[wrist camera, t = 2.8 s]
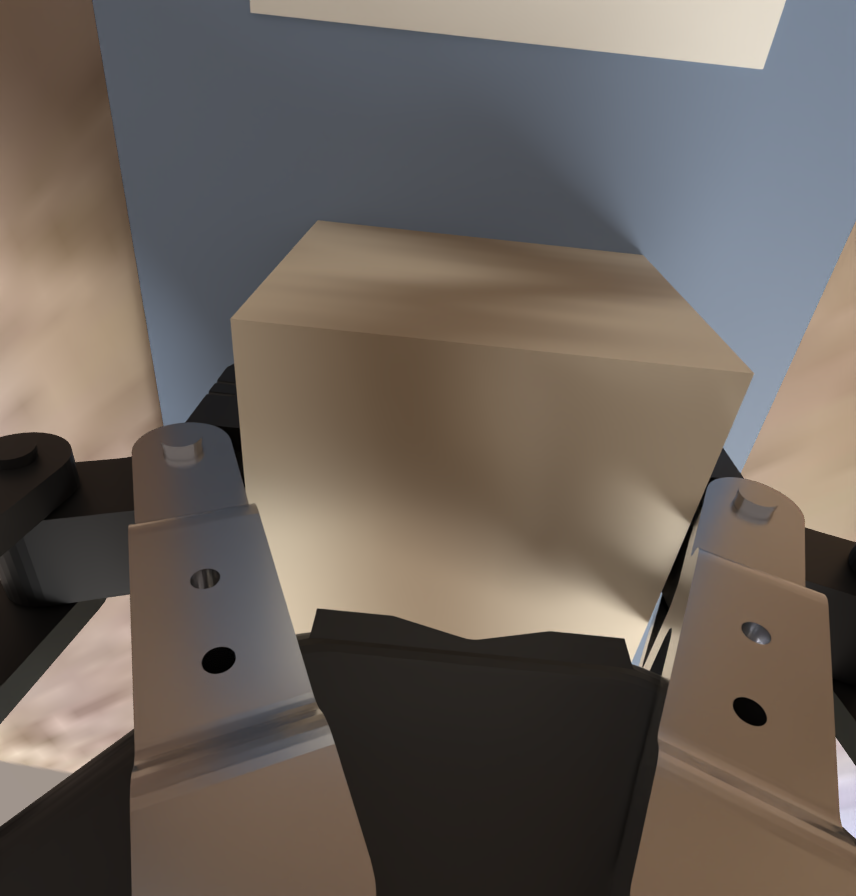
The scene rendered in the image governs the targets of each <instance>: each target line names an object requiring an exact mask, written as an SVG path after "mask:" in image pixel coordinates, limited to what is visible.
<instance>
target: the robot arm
mask: <svg viewBox="0 0 856 896" xmlns="http://www.w3.org/2000/svg"><path fill="white" fill-rule="evenodd" d="M128 594H130V611H131V643H132V676H133V709H134V729H133V730H132V731H130V732H129V733H127V734H126V735H125V736H123V737H122V738H121V739H119V740H118V741H117V742H115V743H114V744H112V745H111V746H110V747H108V748H107V749H106V750H104V751H103V752H101V753H100V754H99V755H97V756H96V757H95V758H93V759H92V760H91V761H89V762H88V763H86V764H85V765H84V766H82V767H81V768H80V769H78V770H77V771H75V772H74V773H73V774H71V775H70V776H69V777H67V778H66V779H65V780H63V781H62V782H60V783H59V784H58V785H57V786H55V787H54V788H52V789H51V790H50V791H48V792H47V793H45V794H44V795H43V796H42V797H40V798H39V799H37V800H36V801H35V802H33V803H32V804H30V805H29V806H28V807H26V808H25V809H24V810H22V811H21V812H19V813H18V814H17V815H15V816H14V817H13V818H11V819H10V820H9V821H7V822H6V823H4V824H3V825H2V826H0V896H856V839H855V838H854V837H853V836H852V835H851V834H850V833H849V832H848V831H846V830H845V829H844V828H843V827H842V824H841V820H840V812H839V794H838V776H837V757H836V739H835V737H836V738H837V740H838V741H839V742H840V744H841V745H842V747H843V748H844V750H845V751H846V752H847V754H848V755H849V757H850V758H851V760H852V761H853V763H854V764H855V765H856V542H853V541H849V540H846V539H842V538H839V537H835V536H832V535H828V534H825V533H821V532H818V531H815V530H811V529H808V528H805V519H804V515H803V513H802V511H801V510H800V509H799V507H798V506H797V505H796V504H795V503H794V502H793V501H792V500H790V499H789V498H788V497H787V496H785V495H784V494H782V493H781V492H779V491H777V490H775V489H773V488H771V487H769V486H767V485H764V484H761V483H759V482H756V481H752V480H748V479H744V478H743V476H742V475H741V473H740V472H739V470H738V469H737V467H736V466H735V464H734V463H733V462H732V460H731V459H730V457H729V456H728V454H727V453H726V451H725V450H724V448H722V451H721V453H720V455H719V458H718V460H717V462H716V465H715V467H714V469H713V472H712V474H711V477H710V479H709V481H708V484H707V486H706V488H705V491H704V493H703V495H702V498H701V500H700V502H699V505H698V507H697V509H696V512H695V514H694V517H693V519H692V521H691V524H690V526H689V528H688V531H687V533H686V535H685V538H684V540H683V542H682V545H681V547H680V549H679V552H678V554H677V557H676V559H675V561H674V564H673V566H672V568H671V571H670V573H669V575H668V578H667V580H666V582H665V585H664V587H663V589H662V595H661V597H660V599H659V602H658V604H657V606H656V609H655V611H654V615H653V618H652V622H651V625H650V629H649V632H648V636H647V639H646V643H645V646H644V650H643V653H642V657H641V660H640V664H639V666H636V665H633V664H632V663H631V659H630V656H629V652H628V649H627V645H626V642H625V638H615V637H605V636H595V635H585V634H574V633H564V632H554V631H546V632H537V633H529V634H521V635H512V636H504V637H496V638H487V639H477V640H473V639H466V638H462V637H459V636H456V635H453V634H450V633H446V632H443V631H440V630H437V629H434V628H431V627H427V626H424V625H421V624H418V623H415V622H411V621H408V620H405V619H402V618H399V617H395V616H391V615H381V614H370V613H360V612H350V611H340V610H330V609H319V608H317V610H316V614H315V618H314V622H313V626H312V630H311V632H308V633H301V634H295V631H294V628H293V624H292V621H291V618H290V614H289V611H288V608H287V604H286V601H285V598H284V594H283V591H282V588H281V584H280V581H279V578H278V574H277V571H276V568H275V564H274V561H273V557H272V554H271V551H270V547H269V544H268V541H267V537H266V534H265V531H264V527H263V524H262V521H261V517H260V514H259V511H258V508H257V505H256V504H255V503H252V504H249V502H248V499H247V495H246V491H245V479H244V468H243V457H242V445H241V434H240V423H239V411H238V400H237V389H236V378H235V366H234V364H232V365H230V366H228V367H227V368H226V369H225V370H224V372H223V373H222V374H221V376H220V377H219V378H218V380H217V383H215V384H214V385H213V386H212V388H211V389H210V390H209V394H206V395H205V397H204V398H203V399H202V401H201V402H200V403H199V405H198V406H197V407H196V409H195V410H194V411H193V413H192V414H191V415H190V417H189V418H188V419H187V421H186V422H185V423H176V424H170V425H166V426H162V427H159V428H156V429H154V430H152V431H150V432H148V433H146V434H145V435H143V436H142V437H141V438H139V439H138V440H137V441H136V443H135V444H134V446H133V448H132V457H127V458H119V459H109V460H97V461H85V462H75V460H74V456H73V452H72V449H71V446H70V444H69V443H68V441H66V440H65V439H64V438H62V437H59V436H57V435H53V434H48V433H37V432H31V433H19V434H12V435H7V436H3V437H0V724H1V723H2V721H3V720H4V719H5V718H6V717H7V716H8V714H9V713H10V712H11V711H12V710H13V709H14V707H15V706H16V705H17V704H18V703H19V702H20V700H21V699H22V698H23V697H24V696H25V695H26V693H27V692H28V691H29V690H30V689H31V688H32V686H33V685H34V684H35V683H36V682H37V681H38V679H39V678H40V677H41V676H42V675H43V674H44V673H45V671H46V670H47V669H48V668H49V667H50V666H51V664H52V663H53V662H54V661H55V660H56V659H57V657H58V656H59V655H60V654H61V653H62V652H63V650H64V649H65V648H66V647H67V646H68V645H69V643H70V642H71V641H72V640H73V639H74V638H75V636H76V635H77V634H78V633H79V632H80V631H81V629H82V628H83V627H84V626H85V625H86V624H87V622H88V621H89V620H90V619H91V618H92V617H93V615H94V614H95V613H96V612H97V611H98V610H99V608H100V607H101V606H102V605H103V603H104V602H105V600H106V598H108V597H115V596H121V595H128Z"/></svg>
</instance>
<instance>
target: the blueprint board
mask: <svg viewBox="0 0 856 896" xmlns="http://www.w3.org/2000/svg"><path fill="white" fill-rule="evenodd" d="M92 2H93V8H94V14H95V20H96V26H97V32H98V38H99V44H100V50H101V56H102V61H103V67H104V73H105V79H106V85H107V91H108V97H109V103H110V109H111V115H112V121H113V127H114V133H115V139H116V145H117V151H118V157H119V163H120V169H121V175H122V181H123V187H124V193H125V198H126V204H127V210H128V216H129V222H130V228H131V234H132V240H133V246H134V252H135V258H136V264H137V270H138V276H139V282H140V288H141V294H142V300H143V306H144V312H145V318H146V324H147V330H148V335H149V341H150V347H151V353H152V359H153V365H154V371H155V377H156V383H157V389H158V395H159V401H160V407H161V413H162V419H163V425H164V426H166V425H170V424H176V423H185V422H186V421H187V419H188V418H189V417H190V415H191V414H192V413H193V411H194V410H195V409H196V407H197V406H198V405H199V403H200V402H201V401H202V399H203V398H204V397H205V395H206V394H209V390H210V389H211V388H212V386H213V385H214V384H215V383H217V380H218V378H219V377H220V376H221V374H222V373H223V372H224V370H225V369H226V368H227V367H228V366H230V365H232V364H234V355H233V344H232V332H231V321H230V319H231V317H232V316H233V315H234V314H235V313H236V312H237V311H238V310H239V308H240V307H241V306H242V305H243V304H244V303H245V302H246V301H247V299H248V298H249V297H250V296H251V295H252V294H253V293H254V291H255V290H256V289H257V288H258V287H259V286H260V285H261V284H262V282H263V281H264V280H265V279H266V278H267V277H268V276H269V275H270V273H271V272H272V271H273V270H274V269H275V268H276V267H277V266H278V264H279V263H280V262H281V261H282V260H283V259H284V258H285V257H286V255H287V254H288V253H289V252H290V251H291V250H292V249H293V247H294V246H295V245H296V244H297V243H298V242H299V241H300V240H301V238H302V237H303V236H304V235H305V234H306V233H307V232H308V231H309V229H310V228H311V227H312V226H313V225H314V224H315V223H316V222H317V220H320V221H329V222H338V223H348V224H357V225H367V226H376V227H385V228H395V229H404V230H413V231H423V232H432V233H441V234H451V235H460V236H470V237H479V238H488V239H498V240H507V241H516V242H526V243H535V244H544V245H554V246H563V247H573V248H582V249H591V250H601V251H610V252H619V253H629V254H638V255H644V257H645V258H646V259H647V260H648V261H649V262H650V263H651V264H652V265H653V266H654V267H655V268H656V269H657V270H658V271H659V272H660V274H661V275H662V276H663V277H664V278H665V279H666V280H667V281H668V282H669V283H670V284H671V285H672V286H673V287H674V288H675V290H676V291H677V292H678V293H679V294H680V295H681V296H682V297H683V298H684V299H685V300H686V301H687V302H688V303H689V304H690V306H691V307H692V308H693V309H694V310H695V311H696V312H697V313H698V314H699V315H700V316H701V317H702V318H703V319H704V320H705V322H706V323H707V324H708V325H709V326H710V327H711V328H712V329H713V330H714V331H715V332H716V333H717V334H718V335H719V336H720V337H721V339H722V340H723V341H724V342H725V343H726V344H727V345H728V346H729V347H730V348H731V349H732V350H733V351H734V352H735V353H736V355H737V356H738V357H739V358H740V359H741V360H742V361H743V362H744V363H745V364H746V365H747V366H748V367H749V368H750V369H751V371H752V372H753V373H754V375H753V378H752V380H751V382H750V385H749V387H748V389H747V392H746V394H745V397H744V399H743V401H742V404H741V406H740V408H739V411H738V413H737V415H736V418H735V420H734V422H733V425H732V427H731V429H730V432H729V434H728V437H727V439H726V441H725V444H724V446H723V448H724V450H725V451H726V453H727V454H728V456H729V457H730V459H731V460H732V462H733V463H734V464H735V466H736V467H737V469H738V470H739V472H740V473H741V471H742V469H743V467H744V465H745V462H746V460H747V458H748V456H749V454H750V451H751V449H752V447H753V445H754V443H755V440H756V438H757V436H758V434H759V432H760V430H761V427H762V425H763V423H764V421H765V419H766V416H767V414H768V412H769V410H770V408H771V405H772V403H773V401H774V399H775V397H776V394H777V392H778V390H779V388H780V386H781V383H782V381H783V379H784V377H785V375H786V373H787V370H788V368H789V366H790V364H791V362H792V359H793V357H794V355H795V353H796V351H797V348H798V346H799V344H800V342H801V340H802V337H803V335H804V333H805V331H806V329H807V327H808V324H809V322H810V320H811V318H812V316H813V313H814V311H815V309H816V307H817V305H818V302H819V300H820V298H821V296H822V294H823V291H824V289H825V287H826V285H827V283H828V281H829V278H830V276H831V274H832V272H833V270H834V267H835V265H836V263H837V261H838V259H839V256H840V254H841V252H842V250H843V248H844V245H845V243H846V241H847V239H848V237H849V235H850V232H851V230H852V228H853V226H854V224H855V221H856V0H92ZM661 595H662V592H661V594H660V597H661ZM660 597H659V599H660ZM659 599H658V601H657V604H658V602H659ZM657 604H656V606H657ZM656 606H655V608H654V611H655V609H656ZM654 611H653V613H652V615H651V618H650V620H649V622H648V625H647V627H646V629H645V632H644V634H643V637H642V639H641V641H640V644H639V646H638V648H637V651H636V653H635V655H634V658H633V660H632V662H631V663H632V664H633V665H636V666H639V664H640V660H641V657H642V653H643V650H644V646H645V643H646V639H647V636H648V632H649V629H650V625H651V622H652V618H653V615H654Z"/></svg>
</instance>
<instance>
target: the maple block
mask: <svg viewBox="0 0 856 896" xmlns="http://www.w3.org/2000/svg"><path fill="white" fill-rule="evenodd" d="M230 321H231V332H232V344H233V355H234V366H235V378H236V389H237V400H238V411H239V423H240V434H241V445H242V457H243V468H244V479H245V491H246V495H247V499H248V502H249V504H252V503H255V504H256V505H257V508H258V511H259V514H260V517H261V521H262V524H263V527H264V531H265V534H266V537H267V541H268V544H269V547H270V551H271V554H272V557H273V561H274V564H275V568H276V571H277V574H278V578H279V581H280V584H281V588H282V591H283V594H284V598H285V601H286V604H287V608H288V611H289V614H290V618H291V621H292V624H293V628H294V631H295V634H301V633H308V632H311V630H312V626H313V622H314V618H315V614H316V610H317V608H319V609H330V610H340V611H350V612H360V613H370V614H381V615H391V616H395V617H399V618H402V619H405V620H408V621H411V622H415V623H418V624H421V625H424V626H427V627H431V628H434V629H437V630H440V631H443V632H446V633H450V634H453V635H456V636H459V637H462V638H466V639H473V640H477V639H487V638H496V637H504V636H512V635H521V634H529V633H537V632H546V631H554V632H564V633H574V634H585V635H595V636H605V637H615V638H625V642H626V645H627V649H628V652H629V656H630V659H631V662H632V660H633V658H634V655H635V653H636V651H637V648H638V646H639V644H640V641H641V639H642V637H643V634H644V632H645V629H646V627H647V625H648V622H649V620H650V618H651V615H652V613H653V611H654V608H655V606H656V604H657V601H658V599H659V597H660V594H661V592H662V589H663V587H664V585H665V582H666V580H667V578H668V575H669V573H670V571H671V568H672V566H673V564H674V561H675V559H676V557H677V554H678V552H679V549H680V547H681V545H682V542H683V540H684V538H685V535H686V533H687V531H688V528H689V526H690V524H691V521H692V519H693V517H694V514H695V512H696V509H697V507H698V505H699V502H700V500H701V498H702V495H703V493H704V491H705V488H706V486H707V484H708V481H709V479H710V477H711V474H712V472H713V469H714V467H715V465H716V462H717V460H718V458H719V455H720V453H721V451H722V448H723V446H724V444H725V441H726V439H727V437H728V434H729V432H730V429H731V427H732V425H733V422H734V420H735V418H736V415H737V413H738V411H739V408H740V406H741V404H742V401H743V399H744V397H745V394H746V392H747V389H748V387H749V385H750V382H751V380H752V378H753V375H754V373H753V372H752V371H751V369H750V368H749V367H748V366H747V365H746V364H745V363H744V362H743V361H742V360H741V359H740V358H739V357H738V356H737V355H736V353H735V352H734V351H733V350H732V349H731V348H730V347H729V346H728V345H727V344H726V343H725V342H724V341H723V340H722V339H721V337H720V336H719V335H718V334H717V333H716V332H715V331H714V330H713V329H712V328H711V327H710V326H709V325H708V324H707V323H706V322H705V320H704V319H703V318H702V317H701V316H700V315H699V314H698V313H697V312H696V311H695V310H694V309H693V308H692V307H691V306H690V304H689V303H688V302H687V301H686V300H685V299H684V298H683V297H682V296H681V295H680V294H679V293H678V292H677V291H676V290H675V288H674V287H673V286H672V285H671V284H670V283H669V282H668V281H667V280H666V279H665V278H664V277H663V276H662V275H661V274H660V272H659V271H658V270H657V269H656V268H655V267H654V266H653V265H652V264H651V263H650V262H649V261H648V260H647V259H646V258H645V257H644V255H638V254H629V253H619V252H610V251H601V250H591V249H582V248H573V247H563V246H554V245H544V244H535V243H526V242H516V241H507V240H498V239H488V238H479V237H470V236H460V235H451V234H441V233H432V232H423V231H413V230H404V229H395V228H385V227H376V226H367V225H357V224H348V223H338V222H329V221H320V220H317V222H316V223H315V224H314V225H313V226H312V227H311V228H310V229H309V231H308V232H307V233H306V234H305V235H304V236H303V237H302V238H301V240H300V241H299V242H298V243H297V244H296V245H295V246H294V247H293V249H292V250H291V251H290V252H289V253H288V254H287V255H286V257H285V258H284V259H283V260H282V261H281V262H280V263H279V264H278V266H277V267H276V268H275V269H274V270H273V271H272V272H271V273H270V275H269V276H268V277H267V278H266V279H265V280H264V281H263V282H262V284H261V285H260V286H259V287H258V288H257V289H256V290H255V291H254V293H253V294H252V295H251V296H250V297H249V298H248V299H247V301H246V302H245V303H244V304H243V305H242V306H241V307H240V308H239V310H238V311H237V312H236V313H235V314H234V315H233V316H232V317H231V319H230Z"/></svg>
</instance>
